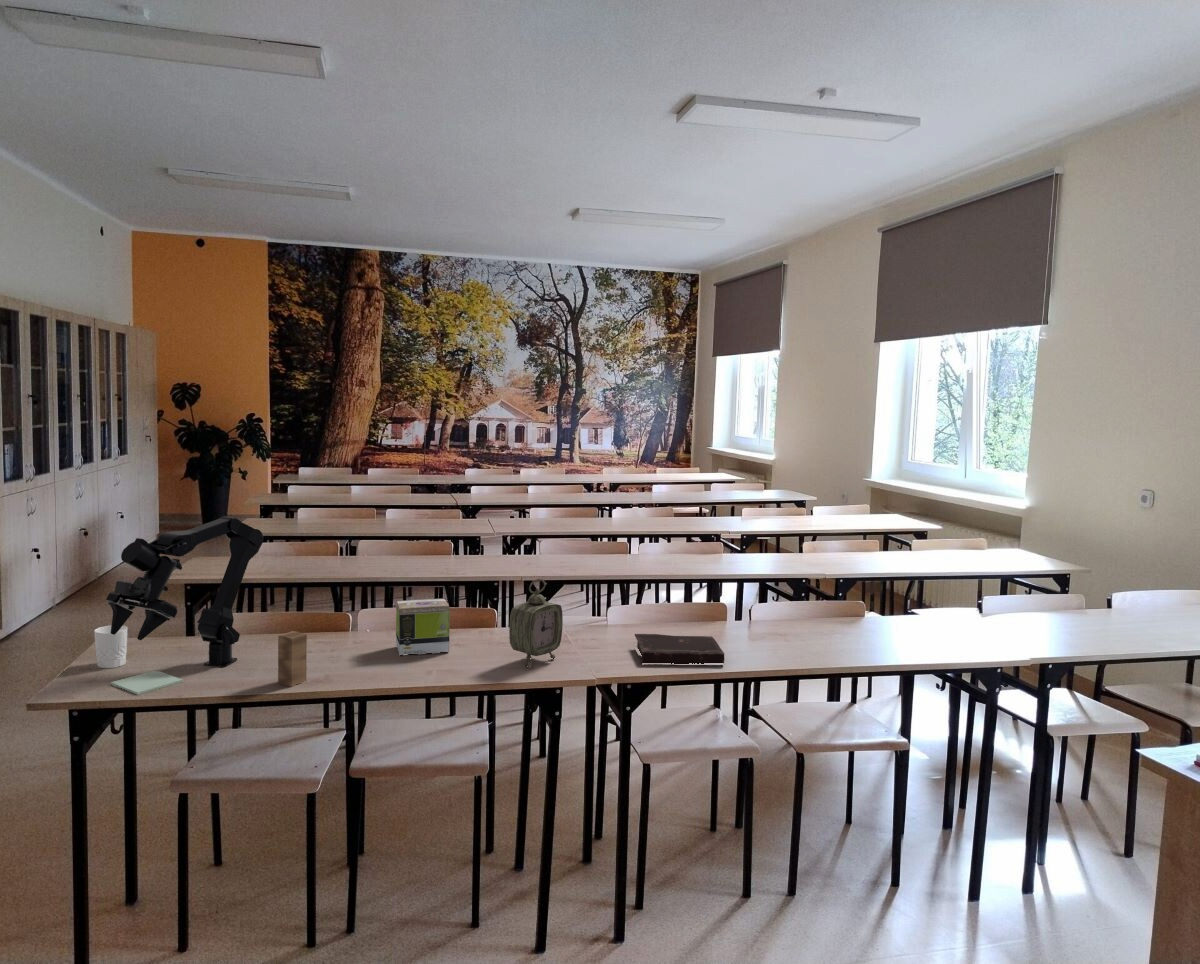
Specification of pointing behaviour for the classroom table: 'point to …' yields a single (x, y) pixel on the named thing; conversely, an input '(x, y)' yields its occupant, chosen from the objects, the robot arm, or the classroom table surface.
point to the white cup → (110, 647)
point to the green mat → (146, 682)
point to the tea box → (422, 626)
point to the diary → (679, 649)
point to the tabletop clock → (536, 626)
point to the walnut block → (292, 658)
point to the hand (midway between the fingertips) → (125, 636)
